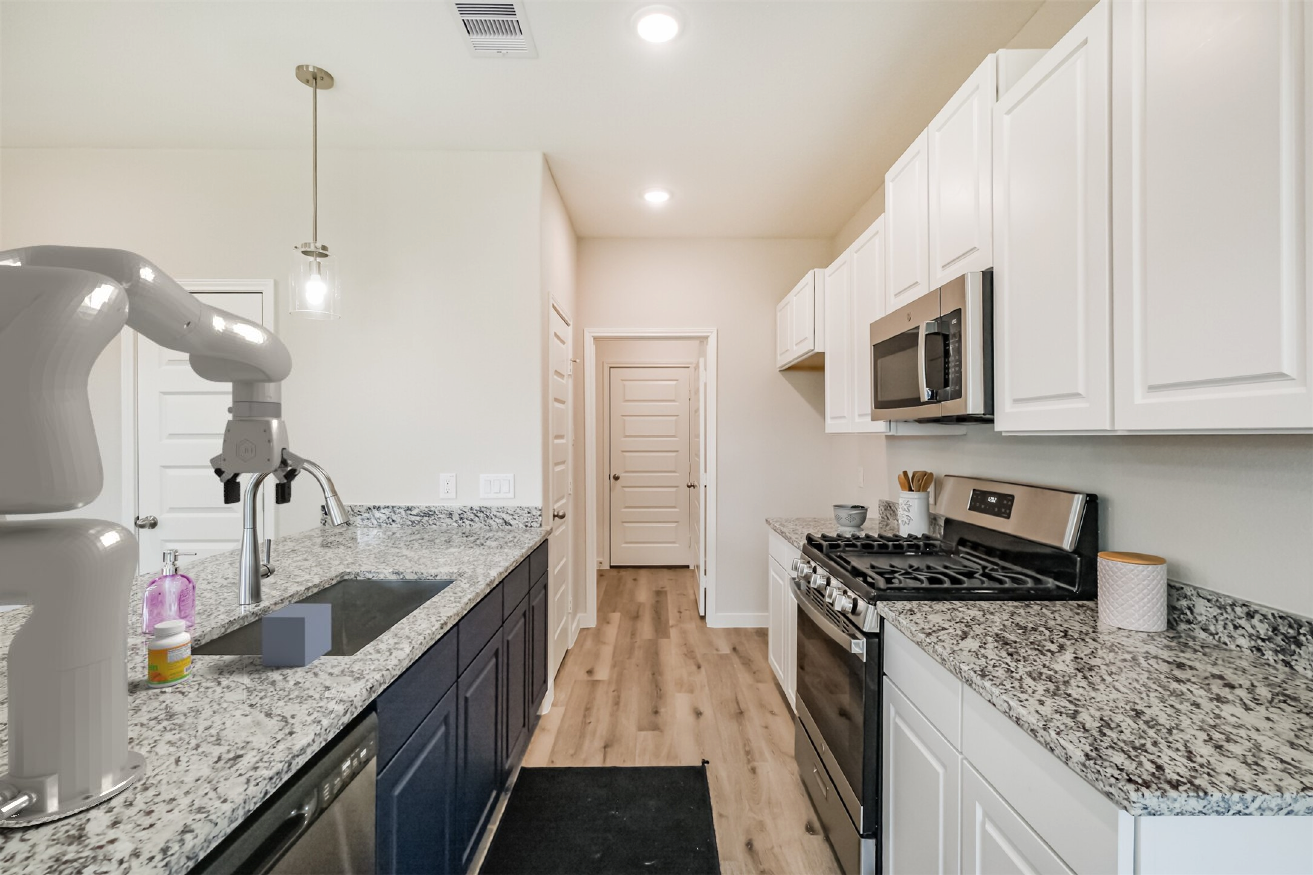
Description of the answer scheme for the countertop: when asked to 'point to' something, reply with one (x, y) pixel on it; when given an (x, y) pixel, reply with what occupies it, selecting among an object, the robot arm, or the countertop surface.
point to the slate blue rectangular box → (296, 634)
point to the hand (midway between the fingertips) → (257, 503)
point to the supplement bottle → (169, 654)
